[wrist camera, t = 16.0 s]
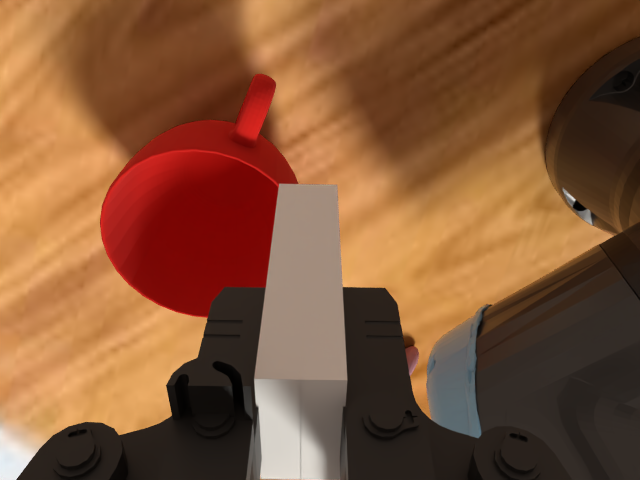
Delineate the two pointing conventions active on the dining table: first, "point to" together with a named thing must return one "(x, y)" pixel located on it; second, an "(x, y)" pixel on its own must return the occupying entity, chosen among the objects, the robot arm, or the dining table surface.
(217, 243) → the ceramic cup
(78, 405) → the dining table surface
